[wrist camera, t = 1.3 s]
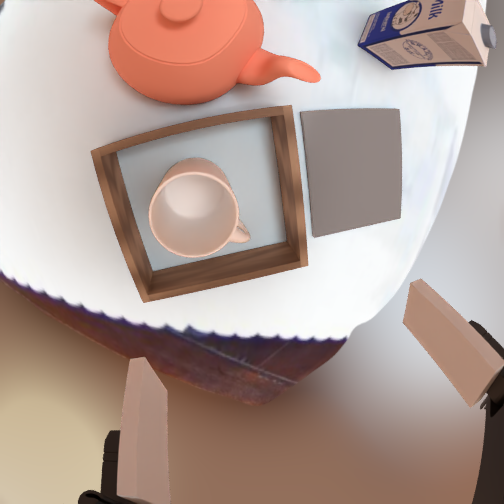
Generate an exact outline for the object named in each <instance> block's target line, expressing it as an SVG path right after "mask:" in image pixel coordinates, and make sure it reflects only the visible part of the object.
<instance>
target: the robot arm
mask: <svg viewBox="0 0 504 504" xmlns="http://www.w3.org/2000/svg"><path fill="white" fill-rule="evenodd" d="M403 324H404V325H405V326H406V327H407V328H408V329H409V330H410V332H411V333H412V334H413V335H414V337H415V338H416V339H417V340H418V341H419V343H420V344H421V345H422V346H423V347H424V348H425V350H426V351H427V352H428V354H429V355H430V356H431V357H432V358H433V360H434V361H435V362H436V363H437V365H438V366H439V367H440V368H441V370H442V371H443V372H444V374H445V375H446V376H447V378H448V379H449V380H450V381H451V383H452V384H453V385H454V387H455V388H456V389H457V391H458V392H459V393H460V395H461V396H462V397H463V399H464V400H465V402H466V403H467V404H468V405H469V407H472V406H473V405H475V404H476V403H477V402H478V401H480V400H481V399H482V397H483V396H484V394H485V393H487V394H488V396H487V397H486V399H485V400H484V401H483V403H482V404H481V406H480V409H482V408H483V407H484V406H485V404H486V406H485V408H484V409H486V421H485V434H484V443H483V444H484V445H483V451H482V459H481V465H480V470H479V476H478V481H477V485H476V490H475V494H474V498H473V502H472V504H504V348H503V347H502V346H501V345H500V344H499V343H498V342H497V341H496V340H495V339H494V338H492V336H491V335H490V334H489V333H487V331H486V330H485V329H484V328H483V327H482V326H481V325H480V324H478V323H476V322H474V321H472V320H471V321H470V322H467V321H466V320H465V319H464V318H463V317H462V316H461V315H460V314H459V313H458V312H457V311H456V310H455V309H454V308H453V307H452V306H451V305H450V304H448V303H447V302H446V301H445V300H444V299H443V298H442V297H441V296H440V295H439V294H438V293H437V292H435V291H434V290H433V289H432V288H431V287H430V286H429V285H428V284H427V283H425V282H424V281H423V280H422V279H419V280H417V281H414V282H412V283H410V288H409V294H408V299H407V305H406V310H405V314H404V319H403ZM103 461H104V462H103V465H102V479H101V493H99V492H96V491H94V490H88V491H85V492H83V493H82V494H81V495H80V497H79V500H78V504H171V500H170V487H169V471H168V445H167V390H166V388H165V387H164V385H163V384H162V382H161V381H160V380H159V378H158V377H157V375H156V374H155V372H154V371H153V369H152V368H151V366H150V364H149V363H148V361H147V360H146V358H145V357H141V358H135V359H130V363H129V369H128V375H127V382H126V389H125V396H124V404H123V412H122V421H121V430H118V431H117V430H116V431H115V430H114V431H110V432H109V434H108V435H107V438H106V439H105V444H104V454H103Z"/></svg>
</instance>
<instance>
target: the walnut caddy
mask: <svg viewBox="0 0 504 504" xmlns="http://www.w3.org/2000/svg"><path fill="white" fill-rule="evenodd" d="M270 116H271V122H272V129H273V135H274V142H275V149H276V156H277V164H278V171H279V178H280V186H281V194H282V202H283V210H284V219H285V227H286V236H287V241H286V242H281V243H277V244H273V245H268V246H264V247H259V248H255V249H250V250H246V251H241V252H237V253H233V254H228V255H224V256H219V257H215V258H211V259H206V260H202V261H197V262H193V263H188V264H184V265H180V266H175V267H171V268H167V269H162V270H158V271H153V270H152V268H151V265H150V262H149V259H148V257H147V254H146V251H145V248H144V245H143V242H142V239H141V236H140V233H139V230H138V227H137V224H136V221H135V218H134V215H133V211H132V208H131V205H130V202H129V198H128V195H127V191H126V188H125V184H124V181H123V177H122V173H121V169H120V166H119V162H118V158H117V154H116V151H119V150H122V149H125V148H128V147H131V146H135V145H138V144H141V143H145V142H148V141H152V140H155V139H159V138H163V137H167V136H171V135H174V134H179V133H183V132H187V131H191V130H196V129H200V128H205V127H210V126H215V125H220V124H225V123H231V122H237V121H242V120H249V119H255V118H262V117H270ZM91 154H92V158H93V162H94V166H95V170H96V174H97V177H98V181H99V184H100V188H101V191H102V194H103V198H104V201H105V204H106V207H107V210H108V213H109V216H110V219H111V222H112V225H113V228H114V231H115V234H116V237H117V239H118V242H119V245H120V247H121V250H122V253H123V255H124V258H125V261H126V263H127V266H128V268H129V271H130V273H131V275H132V278H133V280H134V283H135V285H136V287H137V290H138V292H139V294H140V297H141V299H142V301H143V303H145V302H150V301H155V300H160V299H165V298H169V297H174V296H179V295H183V294H188V293H193V292H197V291H202V290H206V289H211V288H215V287H220V286H224V285H229V284H233V283H237V282H242V281H246V280H250V279H255V278H259V277H263V276H267V275H272V274H276V273H280V272H284V271H288V270H292V269H297V268H301V267H305V266H308V254H307V240H306V227H305V215H304V204H303V193H302V184H301V174H300V165H299V156H298V148H297V140H296V132H295V125H294V118H293V111H292V105H287V106H277V107H269V108H261V109H254V110H247V111H241V112H234V113H229V114H223V115H218V116H212V117H207V118H203V119H198V120H193V121H189V122H185V123H180V124H176V125H172V126H168V127H164V128H161V129H157V130H153V131H150V132H146V133H143V134H139V135H136V136H133V137H130V138H126V139H123V140H120V141H117V142H114V143H111V144H108V145H106V146H103V147H100V148H97V149H94V150H92V151H91Z"/></svg>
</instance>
